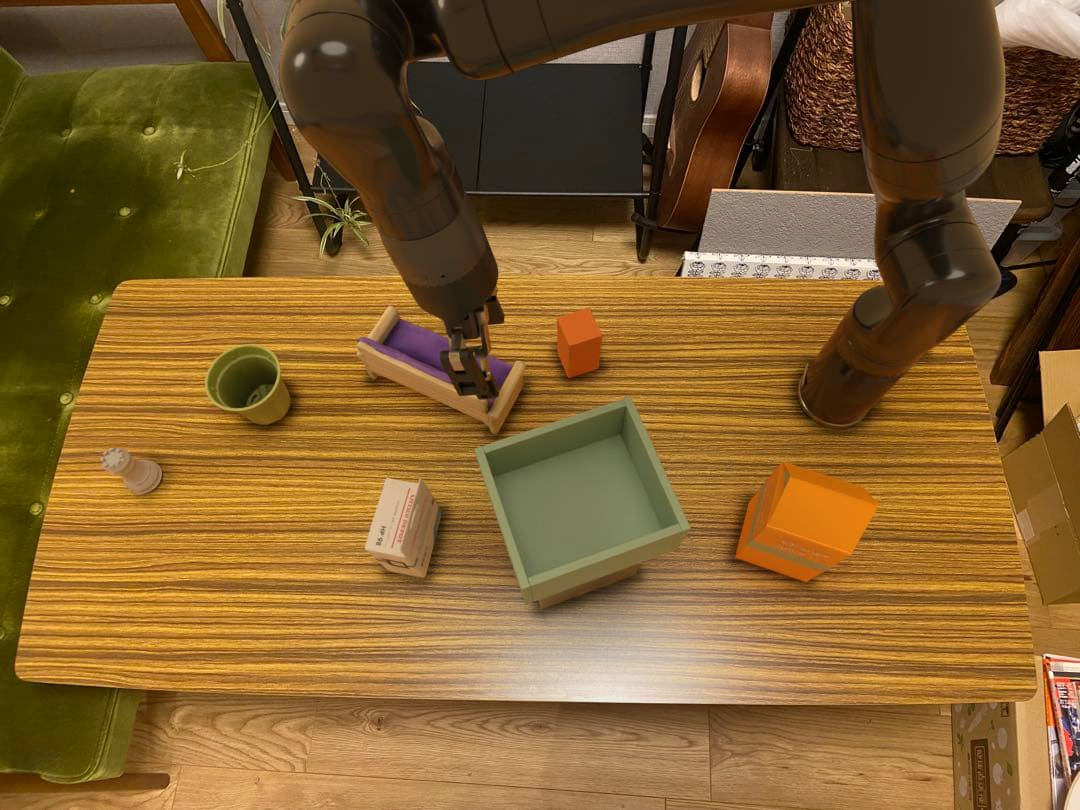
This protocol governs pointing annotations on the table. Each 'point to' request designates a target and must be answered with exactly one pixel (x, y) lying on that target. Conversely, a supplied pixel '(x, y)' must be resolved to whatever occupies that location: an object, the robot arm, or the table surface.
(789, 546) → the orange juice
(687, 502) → the table surface
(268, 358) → the plant pot
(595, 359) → the orange rectangular block
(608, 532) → the square open-top tray
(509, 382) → the toy sofa
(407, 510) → the ink box
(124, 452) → the rook chess piece
